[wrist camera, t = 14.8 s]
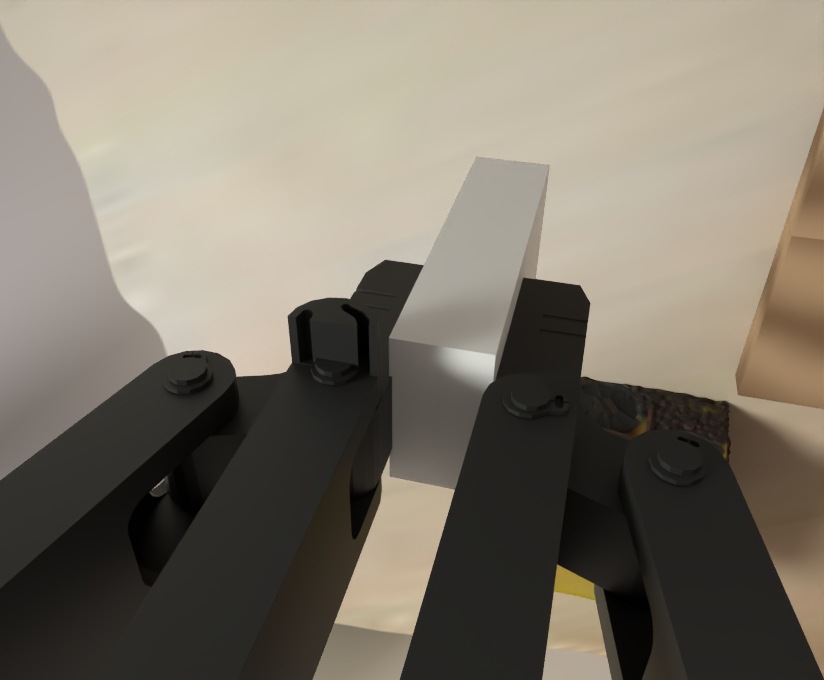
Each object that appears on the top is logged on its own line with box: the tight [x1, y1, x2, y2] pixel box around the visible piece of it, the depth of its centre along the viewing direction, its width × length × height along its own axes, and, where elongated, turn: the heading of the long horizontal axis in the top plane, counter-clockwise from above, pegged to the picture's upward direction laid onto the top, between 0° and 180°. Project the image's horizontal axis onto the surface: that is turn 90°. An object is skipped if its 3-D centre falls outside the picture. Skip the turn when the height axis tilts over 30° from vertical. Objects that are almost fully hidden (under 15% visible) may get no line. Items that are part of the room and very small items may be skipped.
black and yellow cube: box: [554, 377, 731, 600], centre depth 49 cm, size 10×10×10 cm
